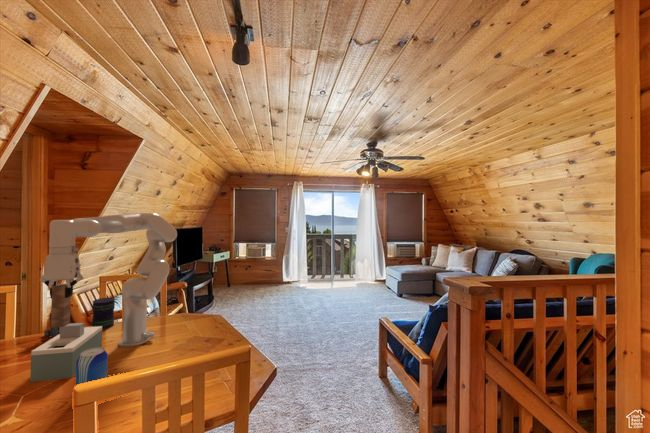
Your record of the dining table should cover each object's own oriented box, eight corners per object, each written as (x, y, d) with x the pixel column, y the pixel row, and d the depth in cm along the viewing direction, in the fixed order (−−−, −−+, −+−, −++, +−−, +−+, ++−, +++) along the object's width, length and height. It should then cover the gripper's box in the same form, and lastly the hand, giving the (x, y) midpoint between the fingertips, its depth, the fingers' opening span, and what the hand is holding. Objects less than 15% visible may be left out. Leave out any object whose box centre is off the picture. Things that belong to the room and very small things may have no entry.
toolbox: (101, 351, 129) (102, 329, 129) (71, 377, 107) (72, 351, 107) (67, 353, 125) (68, 331, 125) (30, 382, 104) (31, 355, 104)
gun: (47, 306, 146) (62, 303, 140) (50, 339, 144) (65, 337, 138) (40, 308, 144) (55, 304, 138) (43, 341, 142) (58, 339, 136)
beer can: (87, 390, 100) (89, 346, 100) (112, 389, 101) (113, 345, 101) (68, 406, 92) (69, 357, 92) (95, 405, 92) (96, 357, 93)
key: (70, 323, 112) (70, 283, 112) (63, 326, 108) (64, 286, 108) (58, 323, 111) (58, 283, 111) (51, 327, 107) (52, 286, 107)
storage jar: (87, 328, 153) (88, 301, 154) (107, 322, 163) (108, 296, 163) (98, 331, 150) (99, 303, 150) (118, 325, 159) (119, 298, 159)
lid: (102, 329, 129) (102, 315, 129) (72, 351, 107) (73, 335, 107) (68, 331, 125) (68, 317, 125) (31, 355, 104) (31, 337, 104)
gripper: (92, 249, 116) (91, 293, 116) (43, 249, 111) (42, 295, 111) (82, 252, 108) (80, 298, 108) (28, 252, 104) (27, 301, 104)
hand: (61, 296), depth 110 cm, fingers closed on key, 4 cm apart
